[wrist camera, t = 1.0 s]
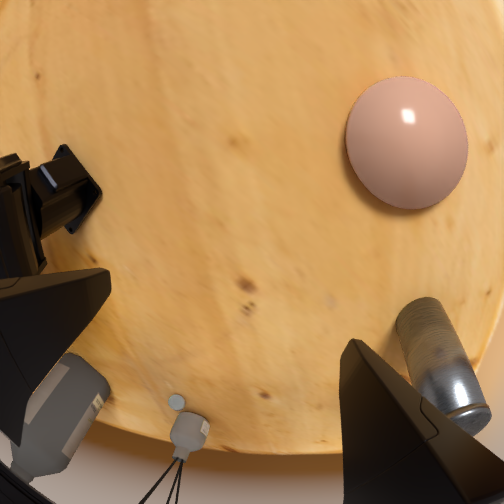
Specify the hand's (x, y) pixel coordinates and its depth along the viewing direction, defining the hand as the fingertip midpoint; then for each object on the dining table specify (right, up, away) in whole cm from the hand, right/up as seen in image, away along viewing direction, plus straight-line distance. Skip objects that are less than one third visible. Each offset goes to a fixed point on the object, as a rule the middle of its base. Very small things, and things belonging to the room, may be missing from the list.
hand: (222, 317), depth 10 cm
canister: (+16, -4, +13) cm, 21 cm away
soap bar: (+11, +10, +7) cm, 16 cm away
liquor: (-25, -17, +28) cm, 41 cm away
